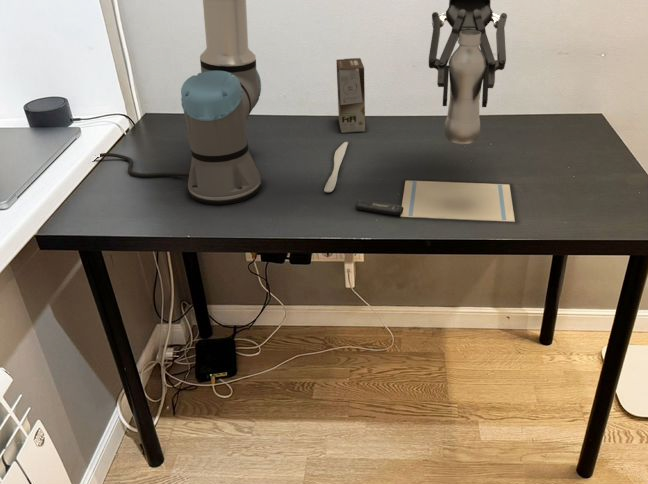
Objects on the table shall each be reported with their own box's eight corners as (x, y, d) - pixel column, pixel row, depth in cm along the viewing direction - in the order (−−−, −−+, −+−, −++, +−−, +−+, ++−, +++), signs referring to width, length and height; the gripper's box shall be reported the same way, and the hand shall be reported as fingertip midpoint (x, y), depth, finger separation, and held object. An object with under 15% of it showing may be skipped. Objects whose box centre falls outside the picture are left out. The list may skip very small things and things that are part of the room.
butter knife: (318, 190, 135) (332, 190, 135) (339, 141, 158) (351, 141, 157) (319, 193, 136) (333, 193, 135) (339, 144, 158) (351, 143, 158)
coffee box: (366, 131, 164) (365, 68, 155) (340, 133, 163) (338, 69, 154) (362, 118, 171) (360, 57, 162) (337, 120, 171) (335, 58, 162)
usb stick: (354, 210, 129) (354, 203, 128) (359, 204, 131) (359, 197, 130) (399, 217, 126) (399, 210, 125) (404, 211, 128) (404, 204, 127)
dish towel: (400, 217, 127) (400, 216, 127) (405, 181, 140) (405, 180, 140) (514, 222, 124) (514, 221, 124) (509, 185, 137) (509, 184, 137)
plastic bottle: (478, 149, 120) (489, 38, 108) (441, 146, 121) (449, 36, 110) (480, 136, 125) (491, 28, 114) (444, 133, 126) (452, 27, 115)
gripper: (417, -27, 117) (409, 92, 113) (526, -26, 115) (523, 94, 110) (418, -2, 124) (410, 110, 120) (520, -1, 122) (517, 113, 118)
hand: (464, 103), depth 115 cm, fingers closed on plastic bottle, 6 cm apart
